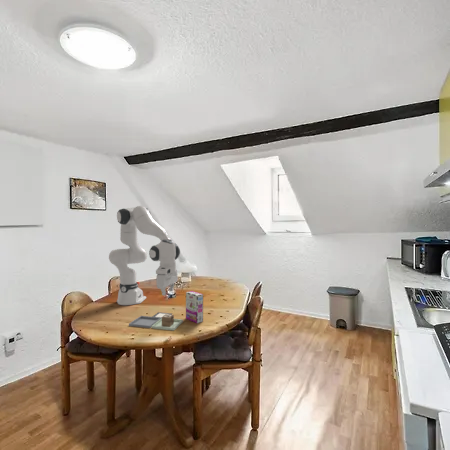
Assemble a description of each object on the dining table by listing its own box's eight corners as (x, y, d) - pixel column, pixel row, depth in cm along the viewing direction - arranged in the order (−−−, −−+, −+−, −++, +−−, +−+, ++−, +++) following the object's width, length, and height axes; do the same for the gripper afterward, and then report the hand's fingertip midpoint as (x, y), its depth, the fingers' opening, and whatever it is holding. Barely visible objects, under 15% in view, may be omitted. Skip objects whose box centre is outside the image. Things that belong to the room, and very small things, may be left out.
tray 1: (141, 318, 167) (141, 315, 167) (161, 320, 164) (161, 317, 164) (128, 326, 155) (128, 323, 154) (150, 328, 151) (150, 325, 151)
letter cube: (165, 322, 159) (165, 313, 159) (173, 323, 158) (173, 314, 158) (161, 326, 154) (161, 316, 154) (170, 326, 153) (170, 317, 153)
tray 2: (162, 320, 164) (162, 317, 164) (183, 322, 161) (183, 319, 161) (151, 328, 151) (151, 325, 151) (173, 331, 148) (173, 328, 148)
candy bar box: (203, 321, 162) (203, 294, 162) (197, 324, 158) (197, 295, 158) (192, 317, 170) (192, 290, 170) (185, 319, 166) (185, 292, 166)
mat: (158, 312, 177) (158, 312, 177) (172, 314, 175) (172, 313, 175) (150, 318, 167) (150, 317, 167) (165, 319, 165) (165, 318, 165)
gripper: (170, 265, 166) (170, 288, 167) (154, 271, 147) (154, 297, 147) (180, 265, 165) (180, 288, 165) (165, 272, 145) (165, 298, 145)
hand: (167, 292), depth 156 cm, fingers open, 8 cm apart
